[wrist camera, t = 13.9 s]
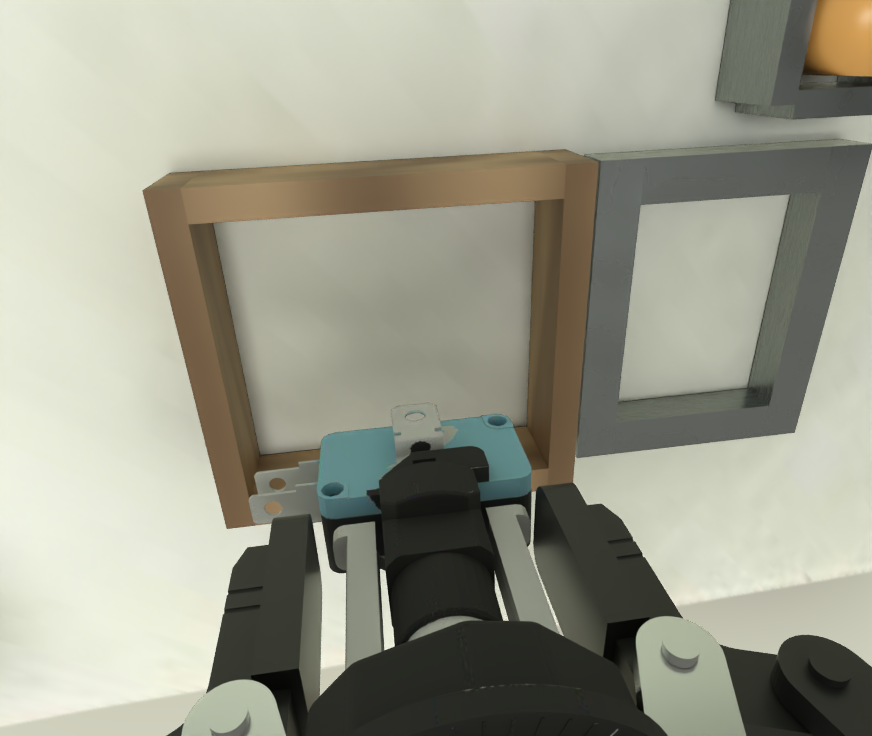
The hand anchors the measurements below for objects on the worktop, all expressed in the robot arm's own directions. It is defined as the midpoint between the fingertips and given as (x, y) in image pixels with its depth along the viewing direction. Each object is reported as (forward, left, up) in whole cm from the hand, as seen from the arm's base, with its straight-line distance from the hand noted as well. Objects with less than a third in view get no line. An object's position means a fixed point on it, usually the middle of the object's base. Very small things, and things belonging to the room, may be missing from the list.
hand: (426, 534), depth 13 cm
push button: (0, 0, -3) cm, 3 cm away
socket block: (-12, 0, -11) cm, 17 cm away
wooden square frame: (0, 0, -11) cm, 11 cm away
